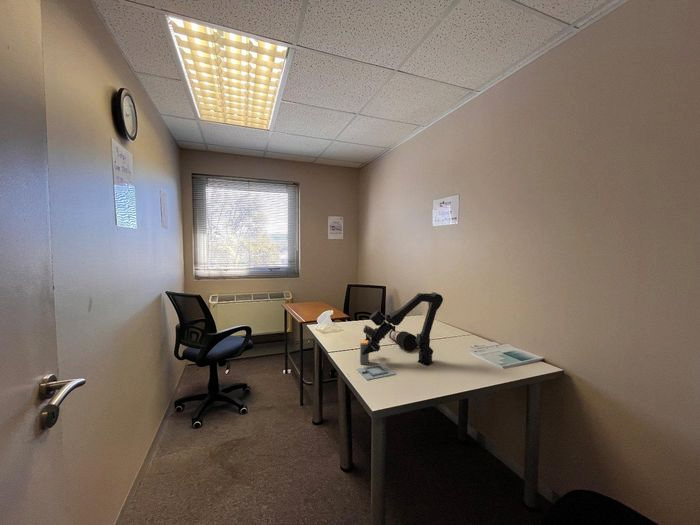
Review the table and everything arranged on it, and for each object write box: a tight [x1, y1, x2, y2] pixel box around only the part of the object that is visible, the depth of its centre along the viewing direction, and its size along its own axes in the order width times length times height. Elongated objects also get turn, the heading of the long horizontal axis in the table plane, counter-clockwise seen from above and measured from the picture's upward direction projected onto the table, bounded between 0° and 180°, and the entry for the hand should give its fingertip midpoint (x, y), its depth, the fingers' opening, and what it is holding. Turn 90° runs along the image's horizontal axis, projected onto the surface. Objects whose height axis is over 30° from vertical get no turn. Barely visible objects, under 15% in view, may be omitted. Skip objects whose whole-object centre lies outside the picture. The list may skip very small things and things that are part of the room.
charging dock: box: [356, 363, 397, 381], centre depth 140 cm, size 16×12×2 cm
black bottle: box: [387, 329, 418, 352], centre depth 183 cm, size 10×34×10 cm, turn 13°
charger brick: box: [359, 339, 370, 366], centre depth 151 cm, size 4×4×12 cm
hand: (361, 350), depth 151 cm, fingers open, 9 cm apart
